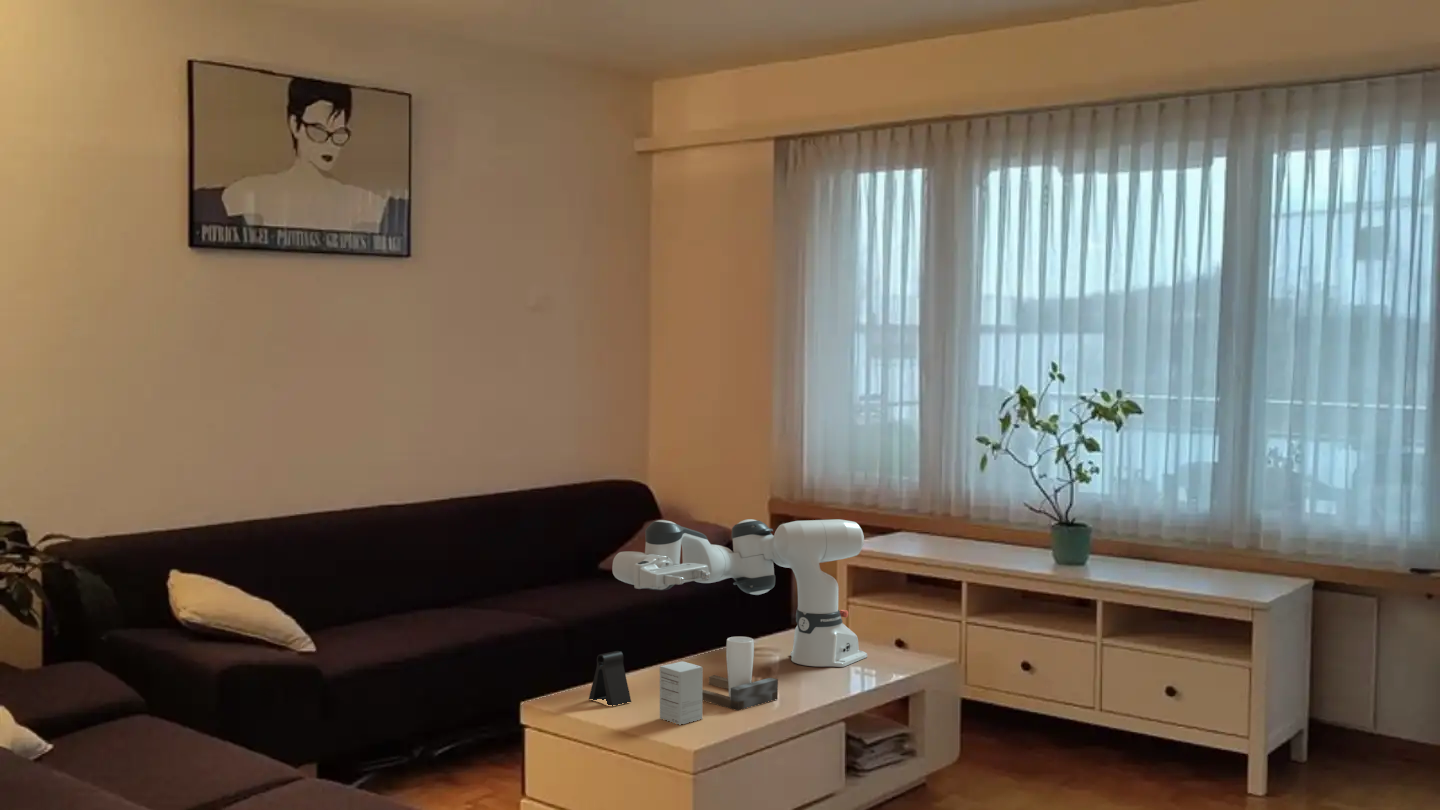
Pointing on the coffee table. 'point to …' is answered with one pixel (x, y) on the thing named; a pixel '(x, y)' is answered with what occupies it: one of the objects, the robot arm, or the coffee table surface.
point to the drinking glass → (739, 661)
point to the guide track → (742, 693)
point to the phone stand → (610, 679)
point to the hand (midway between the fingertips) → (695, 578)
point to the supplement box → (681, 692)
